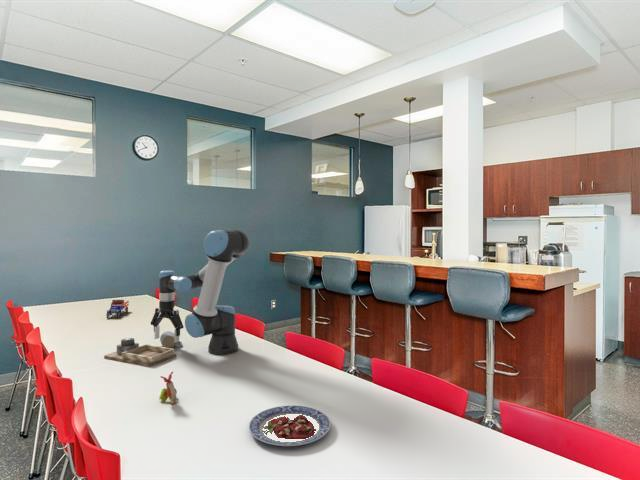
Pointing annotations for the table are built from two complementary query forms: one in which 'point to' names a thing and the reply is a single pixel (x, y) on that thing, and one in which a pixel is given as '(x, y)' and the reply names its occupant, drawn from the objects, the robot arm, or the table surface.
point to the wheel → (127, 341)
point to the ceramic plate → (289, 425)
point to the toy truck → (117, 308)
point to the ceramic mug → (169, 340)
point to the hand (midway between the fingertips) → (166, 340)
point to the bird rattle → (168, 390)
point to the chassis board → (141, 354)
